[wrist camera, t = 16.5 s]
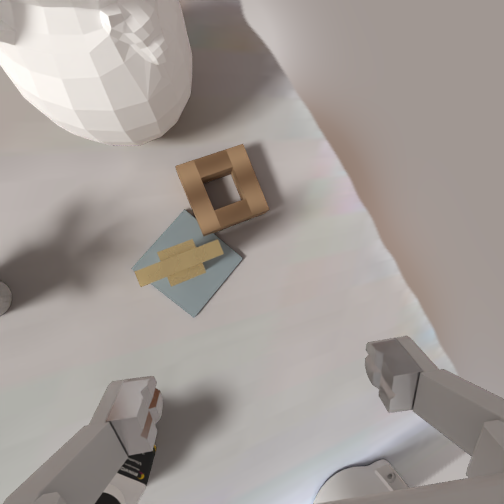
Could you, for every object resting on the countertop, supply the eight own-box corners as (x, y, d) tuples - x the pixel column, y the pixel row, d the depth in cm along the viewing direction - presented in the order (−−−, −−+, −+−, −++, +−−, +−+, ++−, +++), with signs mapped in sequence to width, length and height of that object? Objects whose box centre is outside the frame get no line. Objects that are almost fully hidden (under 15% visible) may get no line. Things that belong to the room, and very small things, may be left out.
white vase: (145, 195, 37) (29, 62, 13) (27, 112, 35) (-385, -238, 11) (220, 99, 40) (244, -166, 15) (115, 16, 38) (-53, -445, 13)
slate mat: (242, 258, 39) (242, 258, 39) (194, 316, 38) (194, 317, 37) (184, 210, 38) (184, 209, 38) (132, 268, 37) (131, 268, 36)
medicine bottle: (157, 444, 36) (135, 532, 24) (130, 495, 35) (92, 612, 23) (109, 423, 35) (61, 504, 23) (80, 475, 34) (14, 586, 22)
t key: (219, 264, 38) (228, 264, 25) (166, 285, 37) (145, 297, 23) (210, 241, 38) (213, 228, 25) (157, 262, 37) (129, 260, 23)
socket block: (264, 213, 40) (269, 209, 37) (203, 237, 39) (203, 234, 36) (240, 152, 40) (243, 143, 37) (177, 173, 38) (175, 166, 35)
